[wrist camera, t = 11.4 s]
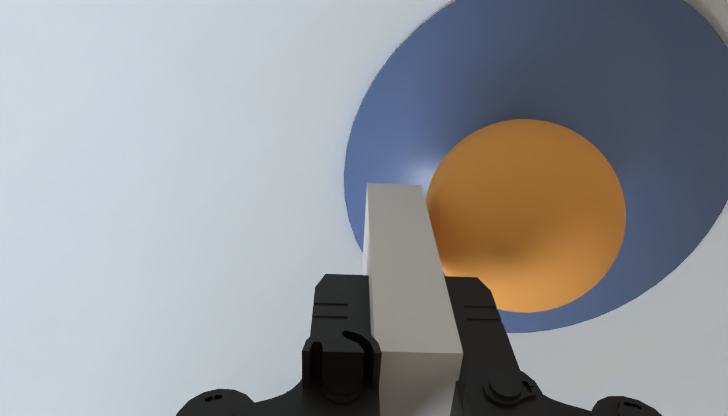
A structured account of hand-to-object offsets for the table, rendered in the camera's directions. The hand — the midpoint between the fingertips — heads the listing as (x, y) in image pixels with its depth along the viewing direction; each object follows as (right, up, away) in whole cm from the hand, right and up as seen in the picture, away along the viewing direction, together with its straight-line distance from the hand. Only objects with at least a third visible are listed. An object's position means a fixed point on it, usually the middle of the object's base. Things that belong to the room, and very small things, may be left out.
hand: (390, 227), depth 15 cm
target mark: (+5, +1, +3) cm, 6 cm away
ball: (+4, 0, 0) cm, 4 cm away
